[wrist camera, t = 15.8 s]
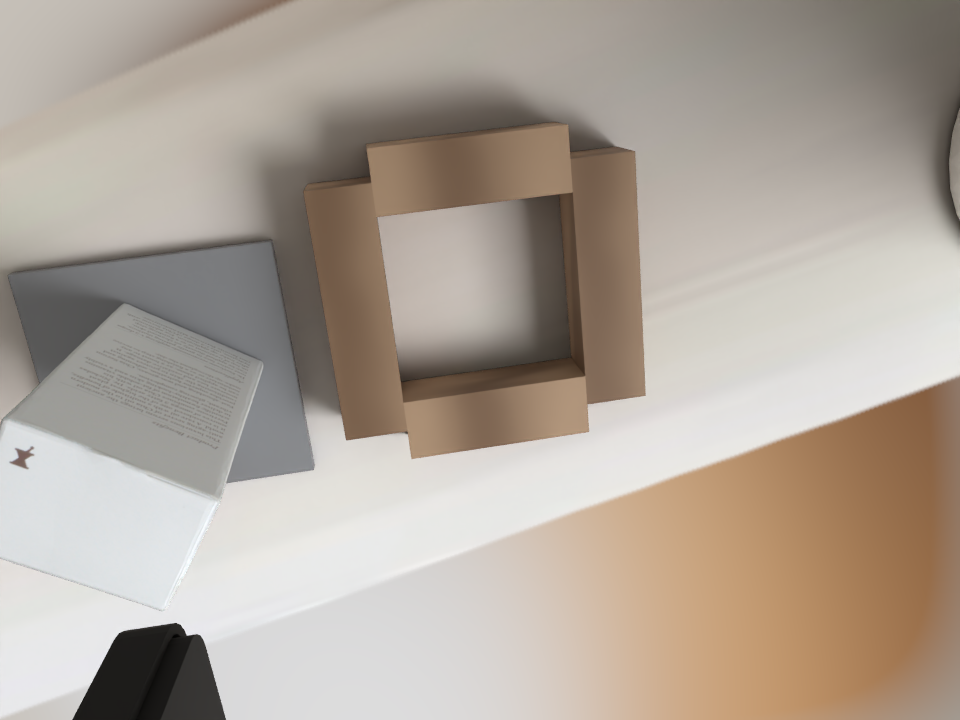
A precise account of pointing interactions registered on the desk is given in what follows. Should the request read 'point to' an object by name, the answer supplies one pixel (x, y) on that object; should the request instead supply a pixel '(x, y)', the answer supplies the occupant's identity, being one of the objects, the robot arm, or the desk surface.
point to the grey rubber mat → (198, 308)
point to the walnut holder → (501, 391)
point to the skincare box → (123, 456)
